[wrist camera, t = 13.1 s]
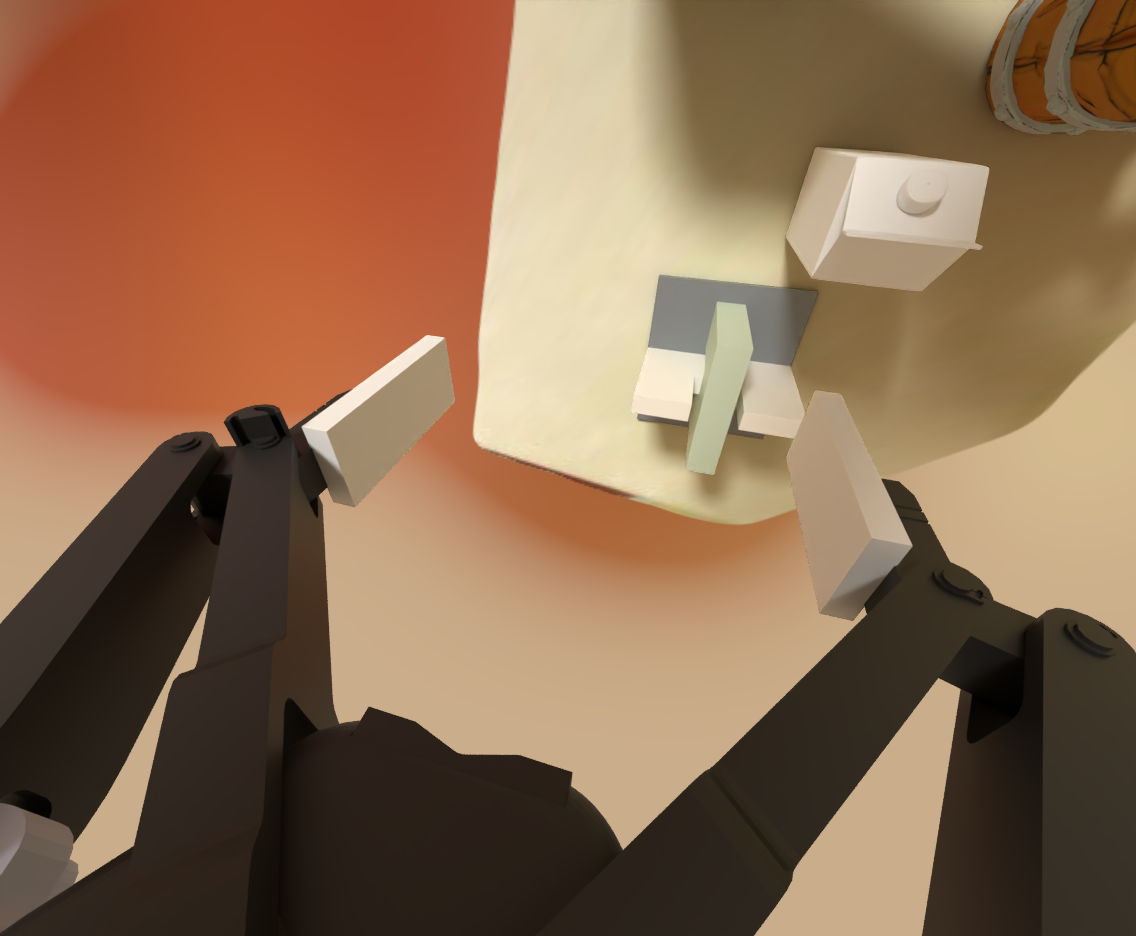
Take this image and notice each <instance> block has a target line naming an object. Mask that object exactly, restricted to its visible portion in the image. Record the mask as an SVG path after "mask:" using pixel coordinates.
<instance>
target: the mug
mask: <svg viewBox="0 0 1136 936" xmlns="http://www.w3.org/2000/svg"><path fill="white" fill-rule="evenodd" d="M987 69H990V72H989V73H988V74H987V76H986V78H985V80H986V81H987V83H988V84H987V85H986V87H985V88H986V95H987V100H988V103H989V105H990V108H991V111H992V112H993V114H994V115H995V118H997V119H998V120H1000V121H1004V122H1003V123H1005V124H1007V125H1008V126H1010V127H1012V128H1013V129H1016V130H1019V131H1021V132H1024V133H1030V134H1056V133H1067V134H1068V135H1079V134H1081V133H1084V132H1086V131H1088V130H1099V131H1125V130H1127V131H1128V132H1129V133H1134V132H1136V0H1019V1H1018V2H1017V4H1016V5H1015V7H1014V8H1013V10H1012V11H1011V12H1010V14H1009V15H1008V17H1007V19H1006V21H1005V23H1004V25H1003V27H1002V29H1001V31H1000V33H999V35H998V37H997V39H996V41H995V44H994V47H993V50H992V53H991V57H990V60H989V63H988V66H987Z"/></svg>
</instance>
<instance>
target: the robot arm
mask: <svg viewBox="0 0 1136 936" xmlns="http://www.w3.org/2000/svg"><path fill="white" fill-rule="evenodd" d="M454 402H455V399H454V392H453V385H452V379H451V372H450V366H449V359H448V353H447V346H446V339H445V338H443V337H436V336H428V335H427V336H425V337H424V338H423V339H421V340H420V341H418V342H417V343H416V344H414V345H413V346H412V347H410V348H409V349H407V350H406V351H405V352H403V353H402V354H401V355H399V356H398V357H396V358H395V359H394V360H392V361H391V362H390V363H388V364H387V365H385V366H384V367H383V368H381V369H380V370H379V371H377V372H376V373H375V374H373V375H372V376H370V377H369V378H368V379H366V380H365V381H364V382H362V383H361V384H359V385H358V386H357V387H355V388H354V389H351V390H349V391H346V392H344V393H342V394H339V395H337V396H335V397H334V398H333V399H331V400H330V401H328V402H327V403H326V405H323V406H322V407H320V408H319V409H317V412H316V411H314V412H313V413H312V414H310V415H309V416H307V417H306V418H305V419H303V420H302V421H300V422H299V423H298V424H296V425H295V426H293V427H292V428H291V429H288V426H287V424H286V422H285V420H284V418H283V415H282V413H281V411H280V409H279V408H278V407H276V406H274V405H265V404H264V405H254V406H250V407H246V408H243V409H241V410H238V411H236V412H234V413H232V414H231V415H229V416H228V417H227V418H226V420H225V421H224V424H225V425H226V427H227V429H228V431H229V433H230V435H231V436H232V438H233V440H234V442H235V443H236V445H237V446H224V447H219V445H218V444H217V442H216V440H215V439H214V437H213V435H212V434H210V433H208V432H190V433H183V434H181V435H176V436H174V437H173V438H171V439H169V440H167V441H165V442H164V443H162V444H161V445H160V446H159V447H157V449H156V450H155V451H154V452H153V453H152V454H151V455H150V456H149V458H148V459H147V460H146V461H145V462H144V463H143V464H142V465H141V467H140V468H139V469H138V470H137V471H136V472H135V473H134V474H133V476H132V477H131V478H130V479H129V480H128V481H127V482H126V483H125V484H124V486H123V487H122V488H121V489H120V490H119V491H118V492H117V493H116V495H115V496H114V497H113V498H112V499H111V500H110V501H109V503H108V504H107V505H106V506H105V507H104V508H103V509H102V510H101V511H100V513H99V514H98V515H97V516H96V517H95V518H94V519H93V520H92V521H91V523H90V524H89V525H88V526H87V527H86V528H85V529H84V531H83V532H82V533H81V534H80V535H79V536H78V537H77V538H76V539H75V541H74V542H73V543H72V544H71V545H70V546H69V547H68V548H67V550H66V551H65V552H64V553H63V554H62V555H61V556H60V557H59V559H58V560H57V561H56V562H55V563H54V564H53V565H52V566H51V568H50V569H49V570H48V571H47V572H46V573H45V574H44V575H43V576H42V578H41V579H40V580H39V581H38V582H37V583H36V584H35V585H34V587H33V588H32V589H31V590H30V591H29V592H28V593H27V594H26V596H25V597H24V598H23V599H22V600H21V601H20V602H19V603H18V605H17V606H16V607H15V608H14V609H13V610H12V611H11V612H10V614H9V615H8V616H7V617H6V618H5V619H4V620H3V621H2V623H1V624H0V936H754V935H755V934H756V932H757V931H758V930H759V928H760V927H761V925H762V924H763V923H764V921H765V920H766V919H767V917H768V916H769V915H770V913H771V912H772V911H773V909H774V908H775V907H776V905H777V904H778V902H779V901H780V899H781V898H782V897H783V895H784V894H785V892H786V891H787V889H788V887H789V885H790V883H791V881H792V877H793V871H794V869H795V867H796V866H797V864H798V863H799V861H800V860H801V859H802V857H803V856H804V854H805V853H806V852H807V851H808V849H809V848H810V847H811V845H812V844H813V843H814V841H815V840H816V839H817V837H818V836H819V835H820V833H821V832H822V831H823V830H824V828H825V827H826V825H827V824H828V823H829V821H830V820H831V819H832V818H833V816H834V815H835V814H836V812H837V811H838V809H839V808H840V807H841V806H842V804H843V803H844V802H845V800H846V799H847V798H848V796H849V795H850V794H851V792H852V791H853V790H854V789H855V787H856V786H857V785H858V783H859V782H860V781H861V779H862V778H863V777H864V775H865V774H866V773H867V771H868V770H869V769H870V767H871V766H872V765H873V763H874V762H875V761H876V759H877V758H878V757H879V755H880V754H881V753H882V751H883V750H884V749H885V748H886V746H887V745H888V744H889V742H890V741H891V740H892V738H893V737H894V736H895V734H896V733H897V732H898V730H899V729H900V728H901V726H902V725H903V724H904V722H905V721H906V720H907V719H908V717H909V716H910V715H911V713H912V712H913V710H914V709H915V708H916V706H917V705H918V704H919V703H920V701H921V700H922V699H923V697H924V696H925V695H926V693H927V692H928V691H929V689H930V688H931V687H932V685H933V684H934V683H935V682H936V680H937V679H938V678H940V679H942V680H944V681H946V682H948V683H950V684H952V685H954V686H956V687H958V688H960V689H961V691H960V697H959V703H958V709H957V716H956V722H955V728H954V735H953V741H952V748H951V754H950V761H949V767H948V773H947V780H946V786H945V792H944V799H943V806H942V811H941V818H940V824H939V831H938V837H937V844H936V850H935V856H934V863H933V869H932V876H931V882H930V888H929V895H928V901H927V908H926V914H925V920H924V926H923V927H924V928H923V933H922V936H1136V653H1135V651H1134V649H1133V648H1132V647H1131V646H1130V645H1129V644H1128V643H1127V642H1126V641H1125V640H1124V639H1123V638H1122V637H1121V636H1120V635H1119V634H1117V633H1116V632H1115V631H1114V630H1112V629H1111V628H1109V627H1108V626H1106V625H1105V624H1103V623H1101V622H1099V621H1097V620H1095V619H1093V618H1092V617H1090V616H1088V615H1085V614H1082V613H1079V612H1076V611H1074V610H1070V609H1063V608H1054V609H1051V610H1048V611H1046V612H1045V613H1043V614H1042V615H1041V616H1040V617H1038V618H1035V617H1032V616H1030V615H1027V614H1025V613H1022V612H1020V611H1018V610H1015V609H1013V608H1010V607H1008V606H1005V605H1003V604H1000V603H998V602H996V601H994V600H993V597H992V595H991V593H990V591H989V589H988V588H987V587H986V586H985V585H984V584H983V582H982V581H981V580H980V579H979V578H977V577H976V576H975V575H973V574H972V573H970V572H969V571H968V570H966V569H964V568H962V567H960V566H958V565H955V564H954V563H951V562H950V561H949V559H948V557H947V555H946V553H945V551H944V550H943V548H942V546H941V544H940V542H939V540H938V539H937V537H936V535H935V533H934V531H933V529H932V527H931V526H930V524H928V520H927V518H926V516H925V514H924V513H923V512H921V511H922V509H921V507H920V506H919V503H918V501H917V500H916V498H915V496H914V495H913V494H912V493H911V492H910V491H909V490H908V489H907V488H905V487H904V486H903V485H902V484H901V483H900V482H898V481H893V480H887V479H881V478H880V476H879V473H878V471H877V469H876V467H875V465H874V463H873V461H872V459H871V456H870V454H869V452H868V450H867V448H866V446H865V444H864V442H863V439H862V437H861V435H860V433H859V431H858V429H857V427H856V425H855V422H854V420H853V418H852V416H851V414H850V412H849V410H848V408H847V406H846V403H845V401H844V399H843V397H842V395H841V394H840V393H833V392H826V391H819V390H815V392H814V394H813V397H812V399H811V401H810V403H809V406H808V408H807V410H806V413H805V415H804V417H803V420H802V422H801V424H800V426H799V429H798V431H797V433H796V436H795V438H794V440H793V442H792V445H791V447H790V449H789V452H788V454H787V456H786V460H787V465H788V469H789V474H790V479H791V483H792V488H793V493H794V497H795V502H796V507H797V511H798V516H799V520H800V525H801V530H802V534H803V539H804V544H805V548H806V553H807V558H808V562H809V567H810V572H811V576H812V581H813V586H814V590H815V595H816V600H817V604H818V609H819V613H821V614H825V615H829V616H833V617H838V618H842V619H847V620H851V621H853V620H854V619H855V618H856V616H857V615H858V614H859V613H860V612H861V610H862V609H863V608H864V607H865V610H866V613H867V615H866V616H865V617H864V618H863V619H862V620H861V621H860V622H859V623H858V624H857V625H856V626H855V627H854V628H853V629H852V630H851V631H850V632H849V633H848V634H847V635H846V636H845V637H844V638H843V639H842V640H841V641H840V642H839V643H838V644H837V645H836V646H835V647H834V648H833V649H832V650H830V652H828V653H827V654H826V655H825V656H824V657H823V658H822V659H821V660H820V661H819V662H818V663H817V664H816V665H815V666H814V667H813V668H812V669H811V670H810V671H809V672H808V673H807V674H806V675H805V676H804V677H803V678H802V679H801V680H800V681H799V682H798V683H797V684H796V685H795V686H794V687H793V688H792V689H791V690H790V691H789V692H788V693H787V694H786V695H785V696H784V697H783V698H782V699H781V700H780V701H779V702H778V703H777V704H776V705H775V706H774V707H773V708H772V709H771V710H770V711H769V712H768V713H767V714H766V715H765V716H764V717H763V718H762V719H761V720H760V721H759V722H758V723H757V724H756V725H755V726H753V727H752V728H751V729H750V730H749V732H747V733H746V735H744V737H742V738H741V739H740V740H739V741H738V742H737V743H736V744H735V745H734V746H733V747H732V748H731V749H730V750H729V751H728V752H727V753H726V754H725V755H724V756H723V757H722V758H721V759H720V760H719V761H718V762H717V763H716V764H715V765H714V766H713V767H711V768H710V769H708V770H706V771H705V772H704V773H702V774H701V775H700V776H699V777H698V778H697V779H695V780H694V781H693V782H692V783H691V784H690V785H689V786H688V787H687V788H686V789H685V790H684V791H683V792H682V793H681V794H680V795H679V796H678V797H677V798H676V799H675V800H674V801H673V802H672V803H671V804H670V805H669V806H668V807H667V808H666V809H665V810H664V811H663V812H662V813H661V814H659V815H658V817H656V818H655V819H654V820H653V821H652V822H651V823H650V824H649V825H648V826H647V827H646V828H645V829H644V830H643V831H642V832H641V833H640V834H639V835H638V836H637V837H636V838H635V839H634V840H633V841H632V842H631V843H630V844H629V845H628V846H627V847H626V848H625V849H624V850H623V849H622V847H621V846H620V843H619V841H618V839H617V837H616V836H615V834H614V832H613V830H612V829H611V827H610V826H609V824H608V823H607V821H606V820H605V818H604V817H603V816H602V814H601V813H600V812H599V811H598V810H597V808H596V807H595V806H594V805H593V804H592V803H591V802H590V801H589V800H588V799H587V798H586V797H585V796H583V795H582V794H581V793H580V792H578V791H577V790H576V789H574V788H573V787H571V781H572V772H570V771H567V770H564V769H561V768H558V767H554V766H551V765H548V764H545V763H542V762H539V761H536V760H533V759H530V758H526V757H523V756H520V755H465V754H459V753H457V752H455V751H454V750H452V749H451V748H450V747H448V746H447V745H446V744H444V743H443V742H442V741H440V740H439V739H438V738H436V737H435V736H434V735H432V734H431V733H430V732H428V731H427V730H426V729H424V728H423V727H422V726H420V725H419V724H418V723H416V722H415V721H412V720H408V719H405V718H403V717H399V716H396V715H393V714H390V713H387V712H384V711H381V710H378V709H375V708H372V707H368V709H367V710H366V712H365V714H364V715H363V717H362V719H361V720H360V721H353V722H345V723H341V724H339V722H338V719H337V717H336V713H335V710H334V705H333V695H332V676H331V658H330V639H329V621H328V603H327V602H328V600H327V581H326V562H325V542H324V524H323V505H322V502H321V500H320V498H319V495H320V493H322V492H323V491H324V490H325V489H326V488H328V490H329V493H330V495H331V497H332V500H333V502H335V503H340V504H343V505H348V506H352V507H356V506H357V505H358V504H359V503H360V502H361V501H362V500H363V499H364V498H365V496H366V495H367V494H368V493H369V492H370V491H371V490H372V489H373V488H374V487H375V486H376V485H377V484H378V483H379V482H380V480H381V479H382V478H383V477H384V476H385V475H386V474H387V473H388V472H389V471H390V470H391V469H392V468H393V467H394V466H395V465H396V464H397V462H398V461H399V460H400V459H401V458H402V457H403V456H404V455H405V454H406V453H407V452H408V451H409V450H410V449H411V448H412V446H413V445H414V444H415V443H416V442H417V441H418V440H419V439H420V438H421V437H422V436H423V435H424V434H425V433H426V432H427V431H428V430H429V428H430V427H431V426H432V425H433V424H434V423H435V422H436V421H437V420H438V419H439V418H440V417H441V416H442V415H443V414H444V413H445V411H446V410H447V409H448V408H449V407H450V406H451V405H452V404H453V403H454ZM191 505H192V507H193V508H194V511H193V512H192V513H191ZM209 596H210V598H209ZM208 598H209V603H208V609H207V613H206V619H205V625H204V630H203V635H202V640H201V645H200V650H199V656H198V661H197V664H196V667H195V668H194V669H193V670H190V671H187V672H185V673H181V674H179V675H178V677H177V678H176V679H175V680H174V681H173V683H172V686H171V689H170V691H169V694H168V699H167V703H166V708H165V712H164V717H163V721H162V725H161V729H160V734H159V738H158V743H157V747H156V752H155V756H154V760H153V765H152V769H151V774H150V778H149V782H148V787H147V791H146V795H145V800H144V804H143V808H142V813H141V817H140V822H139V826H138V831H137V835H136V839H135V843H134V846H133V847H131V848H130V849H128V850H127V851H125V852H124V853H122V854H120V855H119V856H117V857H116V858H114V859H113V860H111V861H110V862H108V863H106V864H105V865H103V866H102V867H100V868H99V869H97V870H95V871H94V872H92V873H91V874H89V875H88V876H86V877H85V878H83V879H81V880H80V881H78V882H77V883H75V884H74V882H75V880H76V877H77V875H78V864H77V863H75V862H74V861H72V860H70V856H71V853H72V850H73V844H74V842H75V841H76V840H77V838H78V837H79V836H80V834H81V833H82V832H83V830H84V829H85V827H86V826H87V824H88V823H89V821H90V820H91V818H92V817H93V815H94V814H95V812H96V811H97V809H98V808H99V806H100V805H101V803H102V801H103V800H104V799H105V797H106V796H107V794H108V792H109V790H110V788H111V787H112V785H113V783H114V781H115V780H116V778H117V776H118V774H119V772H120V771H121V769H122V767H123V765H124V764H125V762H126V760H127V758H128V756H129V753H130V752H131V750H132V748H133V746H134V744H135V742H136V740H137V738H138V736H139V734H140V732H141V730H142V728H143V726H144V724H145V722H146V720H147V718H148V716H149V715H150V712H151V711H152V709H153V706H154V705H155V703H156V701H157V699H158V696H159V695H160V693H161V691H162V689H163V687H164V685H165V683H166V681H167V679H168V677H169V675H170V673H171V671H172V669H173V667H174V665H175V663H176V661H177V659H178V657H179V655H180V653H181V651H182V649H183V647H184V645H185V644H186V642H187V639H188V637H189V636H190V634H191V632H192V629H193V628H194V626H195V624H196V622H197V620H198V618H199V616H200V614H201V612H202V610H203V608H204V606H205V604H206V602H207V600H208Z"/></svg>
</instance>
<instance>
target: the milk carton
mask: <svg viewBox="0 0 1136 936" xmlns="http://www.w3.org/2000/svg"><path fill="white" fill-rule="evenodd" d="M988 174H989V168H988V167H986V166H983V165H978V164H971V163H965V162H958V161H951V160H945V159H938V158H931V157H924V156H918V155H911V154H904V153H895V152H882V151H868V150H854V149H840V148H826V147H816V148H815V150H814V153H813V156H812V159H811V162H810V165H809V168H808V171H807V174H806V177H805V180H804V183H803V186H802V189H801V192H800V195H799V198H798V201H797V204H796V207H795V210H794V213H793V216H792V219H791V222H790V225H789V228H788V231H787V234H786V239H787V240H788V242H789V243H790V245H791V247H792V248H793V250H794V251H795V253H796V254H797V256H798V258H799V259H800V261H801V262H802V264H803V265H804V267H805V269H806V270H807V272H808V273H809V275H810V276H811V278H812V279H818V280H826V281H834V282H842V283H850V284H859V285H867V286H875V287H883V288H892V289H900V290H909V291H922V290H924V289H925V288H926V287H927V286H928V285H929V284H930V283H931V282H933V281H934V280H935V279H936V278H937V277H938V276H939V275H941V274H942V273H943V272H944V271H945V270H946V269H947V268H948V267H950V266H951V265H952V264H953V263H954V262H955V261H956V260H957V259H959V258H960V257H961V256H962V255H963V254H964V253H965V252H966V251H968V250H969V249H976V250H981V249H982V248H983V246H981V245H979V244H977V243H975V240H976V235H977V230H978V225H979V220H980V215H981V210H982V205H983V200H984V195H985V190H986V185H987V180H988Z"/></svg>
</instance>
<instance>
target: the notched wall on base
mask: <svg viewBox="0 0 1136 936" xmlns="http://www.w3.org/2000/svg"><path fill="white" fill-rule="evenodd" d="M817 295H818V291H813V290H803V289H793V288H783V287H773V286H764V285H754V284H744V283H734V282H724V281H715V280H705V279H695V278H685V277H675V276H666V275H659V279H658V286H657V292H656V299H655V305H654V312H653V318H652V325H651V332H650V338H649V345H648V349H647V353H646V356H645V359H644V363H643V366H642V369H641V373H640V376H639V379H638V383H637V386H636V389H635V393H634V397H633V404H632V411H631V412H632V413H638V416H637V419H642V420H648V421H654V422H660V423H667V424H673V425H679V426H685V427H689V417H690V411H691V406H692V402H693V398H694V394H699V391H700V387H701V383H702V379H703V375H704V371H705V352H706V344H707V340H708V336H709V332H710V328H711V323H712V319H713V315H714V311H715V307H716V303H717V302H725V303H734V304H743V305H746V309H747V315H748V320H749V326H750V332H751V337H752V343H753V352H752V355H751V359H750V362H749V365H748V368H747V371H746V374H745V378H744V381H743V384H742V387H741V390H740V394H739V397H738V400H737V403H736V406H735V409H734V413H733V416H732V419H731V422H730V425H729V429H728V432H727V433H728V434H734V435H740V436H746V437H752V438H758V439H763V437H764V434H768V435H774V436H780V437H787V438H793V439H794V438H795V436H796V433H797V431H798V429H799V426H800V424H801V422H802V420H803V417H804V415H805V411H804V408H803V404H802V401H801V398H800V395H799V392H798V389H797V385H796V382H795V379H794V376H793V373H792V370H791V363H792V361H793V358H794V356H795V353H796V350H797V348H798V345H799V343H800V340H801V337H802V335H803V332H804V329H805V327H806V324H807V322H808V319H809V316H810V314H811V311H812V308H813V306H814V303H815V301H816V298H817Z"/></svg>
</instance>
